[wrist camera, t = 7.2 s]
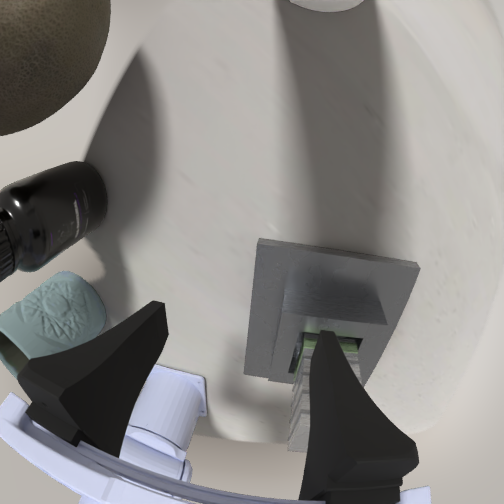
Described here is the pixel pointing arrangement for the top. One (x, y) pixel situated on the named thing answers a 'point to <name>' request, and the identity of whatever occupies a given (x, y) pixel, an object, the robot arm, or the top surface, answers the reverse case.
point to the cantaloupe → (47, 56)
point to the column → (301, 389)
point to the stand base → (322, 304)
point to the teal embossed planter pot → (50, 320)
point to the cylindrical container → (327, 4)
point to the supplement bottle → (48, 215)
